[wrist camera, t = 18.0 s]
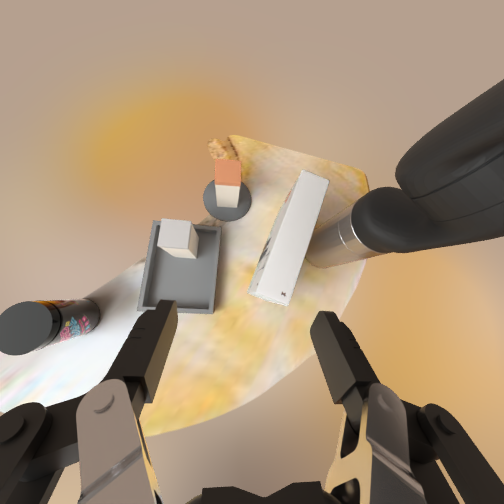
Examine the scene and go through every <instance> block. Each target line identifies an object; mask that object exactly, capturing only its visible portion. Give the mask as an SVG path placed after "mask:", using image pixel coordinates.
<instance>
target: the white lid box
mask: <svg viewBox="0 0 504 504" xmlns="http://www.w3.org/2000/svg"><path fill="white" fill-rule="evenodd" d="M198 243H199V237H198V235H197V233H196V231H195V229H194V227H193V225H192V222H191V221H184V220H173V219H164V218H163V219H162V220H161V226H160V232H159V238H158V244H157V246H158V247H160V248H162V249H163V250H165V251H166V252H168V253H169V254H171V255H172V256H174V257H181V258H194V259H197V251H198Z"/></svg>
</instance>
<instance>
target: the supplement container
mask: <svg viewBox="0 0 504 504" xmlns="http://www.w3.org/2000/svg"><path fill="white" fill-rule="evenodd" d="M99 318H100V311H99V308H98V306H97V305H96V304H95V303H94V302H93V301H91V300H88V299H70V300H52V301H51V300H50V301H27V302H21V303H18V304H15V305H13V306H11V307H9V308H8V309H7V310H5V311H4V312H3V313H2V314H1V315H0V351H1V352H3V353H5V354H8V355H22V354H26V353H29V352H33V351H37V350H39V349H42V348H45V347H48V346H51V345H54V344H57V343H61V342H64V341H67V340H70V339H74V338H77V337H80V336H83V335H85V334H87V333H89V332H90V331H91V330H93V329H94V327H95V326H96V325H97V323H98V321H99Z"/></svg>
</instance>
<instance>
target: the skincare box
mask: <svg viewBox="0 0 504 504" xmlns="http://www.w3.org/2000/svg"><path fill="white" fill-rule="evenodd" d="M328 185H329V180H327V179H325V178H323V177H320V176H318V175H316V174H313V173H311V172H308V171H306V170H302V172H301V174H300V175H299V177H298V179H297V181H296V182H295V184H294V186H293V187H292V189H291V191H290V193H289V194H288V196H287V198H286V200H285V201H284V203H283V205H282V206H281V208H280V210H279V212H278V214H277V216H276V219H275V221H274V224H273V227H272V229H271V232H270V234H269V237H268V239H267V242H266V244H265V247H264V249H263V252H262V254H261V257H260V260H259V262H258V265H257V267H256V270H255V272H254V275H253V277H252V280H251V282H250V285H249V288H248V290H247V293H248V294H251V295H253V296H255V297H258V298H260V299H263V300H265V301H269V302H272V303H276V304H281V305H285V306H288V305H289V303H290V300H291V297H292V294H293V291H294V288H295V284H296V281H297V278H298V275H299V272H300V269H301V266H302V263H303V260H304V257H305V254H306V251H307V248H308V245H309V242H310V239H311V236H312V233H313V230H314V227H315V224H316V221H317V218H318V215H319V212H320V209H321V206H322V203H323V200H324V197H325V194H326V191H327V188H328Z"/></svg>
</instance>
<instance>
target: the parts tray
mask: <svg viewBox="0 0 504 504" xmlns="http://www.w3.org/2000/svg"><path fill="white" fill-rule="evenodd" d="M192 225H193V227H194V229H195V231H196V233H197V235H198V237H199V243H198V251H197V259H194V258H181V257H174V256H172V255H171V254H169V253H168V252H166V251H165V250H163V249H162V248H160V247H158V246H157V244H158V238H159V232H160V226H161V221H153V225H152V230H151V236H150V241H149V246H148V252H147V257H146V263H145V268H144V274H143V280H142V285H141V291H140V296H139V302H138V307H137V311H146V310H147V309H150V310H155V309H156V306H157V304H158V302H159V301H160V300H161V299H163V300H176V302H177V313H197V314H213V312H214V301H215V291H216V280H217V270H218V259H219V249H220V238H221V227H214V226H204V225H194V224H192Z"/></svg>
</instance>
